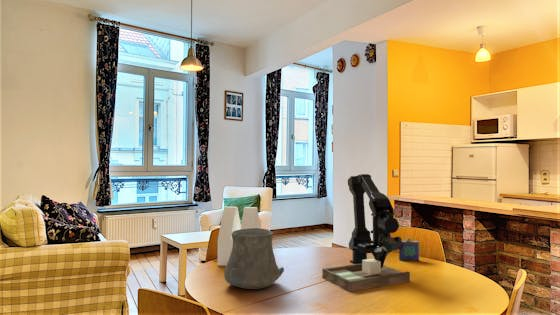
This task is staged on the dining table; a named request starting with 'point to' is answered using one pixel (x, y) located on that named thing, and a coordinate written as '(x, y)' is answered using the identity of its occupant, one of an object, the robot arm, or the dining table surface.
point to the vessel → (252, 259)
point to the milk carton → (234, 229)
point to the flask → (409, 250)
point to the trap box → (363, 277)
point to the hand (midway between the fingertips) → (380, 268)
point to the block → (371, 266)
